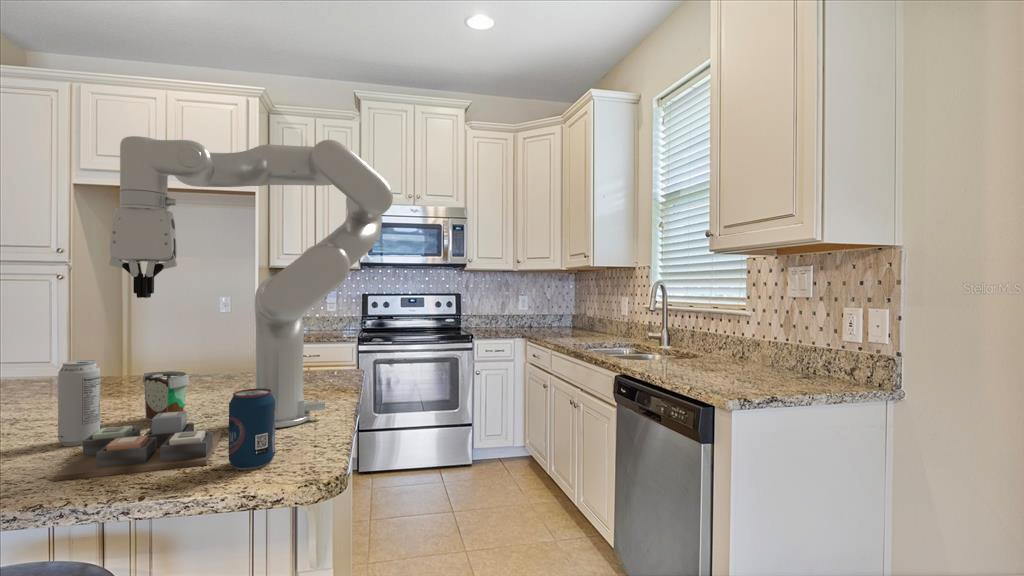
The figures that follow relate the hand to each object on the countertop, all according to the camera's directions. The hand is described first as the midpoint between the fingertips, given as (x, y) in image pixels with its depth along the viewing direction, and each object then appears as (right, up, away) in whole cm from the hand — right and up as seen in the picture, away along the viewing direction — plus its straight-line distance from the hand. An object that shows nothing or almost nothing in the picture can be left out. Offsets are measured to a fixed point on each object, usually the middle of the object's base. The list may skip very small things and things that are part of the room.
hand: (143, 297), depth 99 cm
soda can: (+28, -28, -14) cm, 42 cm away
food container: (-3, -27, +13) cm, 30 cm away
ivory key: (+16, -26, -12) cm, 33 cm away
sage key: (+1, -26, -9) cm, 28 cm away
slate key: (+9, -24, -6) cm, 26 cm away
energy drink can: (-9, -27, -4) cm, 29 cm away
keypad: (+8, -27, -10) cm, 30 cm away
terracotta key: (+8, -26, -15) cm, 31 cm away
